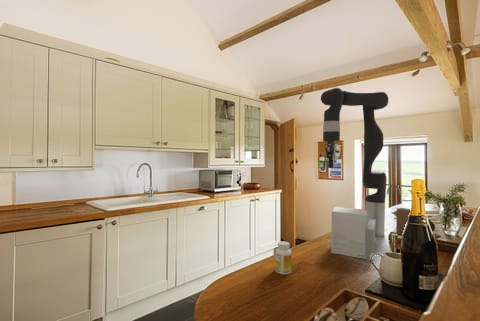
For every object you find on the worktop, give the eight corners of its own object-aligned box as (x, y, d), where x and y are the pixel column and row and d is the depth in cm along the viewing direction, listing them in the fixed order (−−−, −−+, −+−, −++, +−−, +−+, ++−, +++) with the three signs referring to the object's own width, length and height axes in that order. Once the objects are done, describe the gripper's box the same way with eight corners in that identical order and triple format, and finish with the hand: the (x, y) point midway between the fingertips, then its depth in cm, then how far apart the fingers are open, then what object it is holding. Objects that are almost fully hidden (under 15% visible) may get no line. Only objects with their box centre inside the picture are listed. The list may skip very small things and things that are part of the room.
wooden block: (423, 253, 108) (424, 210, 108) (419, 255, 105) (420, 211, 105) (399, 247, 114) (400, 207, 115) (395, 249, 112) (396, 208, 112)
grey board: (369, 244, 118) (369, 218, 118) (375, 245, 117) (375, 219, 117) (365, 259, 99) (366, 228, 99) (372, 260, 98) (373, 229, 98)
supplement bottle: (292, 269, 88) (292, 241, 88) (290, 276, 83) (290, 246, 83) (276, 267, 90) (277, 239, 90) (273, 273, 85) (274, 244, 85)
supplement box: (366, 249, 111) (367, 209, 111) (366, 259, 99) (367, 214, 99) (334, 244, 117) (334, 206, 117) (330, 253, 105) (331, 210, 105)
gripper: (337, 129, 113) (336, 168, 113) (341, 132, 124) (341, 168, 124) (320, 130, 117) (319, 167, 117) (326, 133, 128) (325, 167, 128)
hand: (330, 167), depth 120 cm, fingers closed
